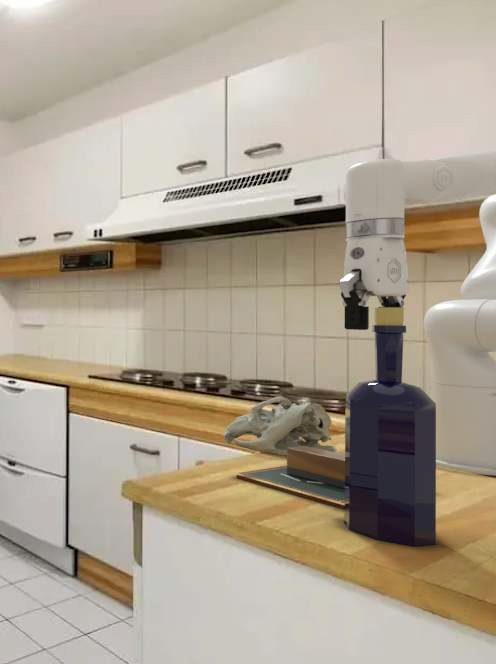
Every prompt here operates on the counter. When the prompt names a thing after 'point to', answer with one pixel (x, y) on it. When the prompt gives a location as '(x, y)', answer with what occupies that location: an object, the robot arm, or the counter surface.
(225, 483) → the counter surface
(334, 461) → the eraser
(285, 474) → the chalkboard
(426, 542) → the bottle
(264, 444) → the animal skull
